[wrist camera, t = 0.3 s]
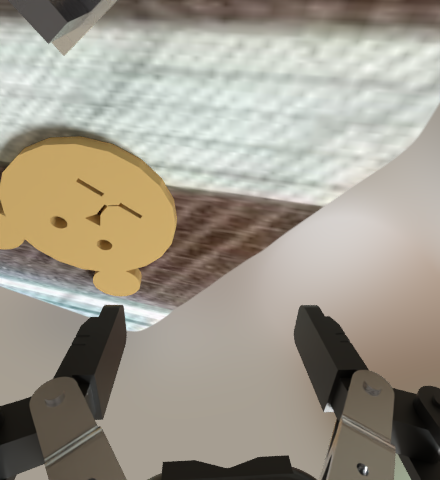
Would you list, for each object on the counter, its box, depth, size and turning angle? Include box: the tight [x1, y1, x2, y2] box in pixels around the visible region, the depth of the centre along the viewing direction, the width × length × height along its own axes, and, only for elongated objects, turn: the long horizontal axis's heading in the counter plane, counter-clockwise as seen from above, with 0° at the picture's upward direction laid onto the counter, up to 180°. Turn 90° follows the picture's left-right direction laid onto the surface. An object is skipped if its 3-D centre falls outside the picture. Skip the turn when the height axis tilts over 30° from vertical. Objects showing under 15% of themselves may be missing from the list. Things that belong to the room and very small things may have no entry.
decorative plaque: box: [0, 136, 177, 296], centre depth 47 cm, size 31×3×30 cm
